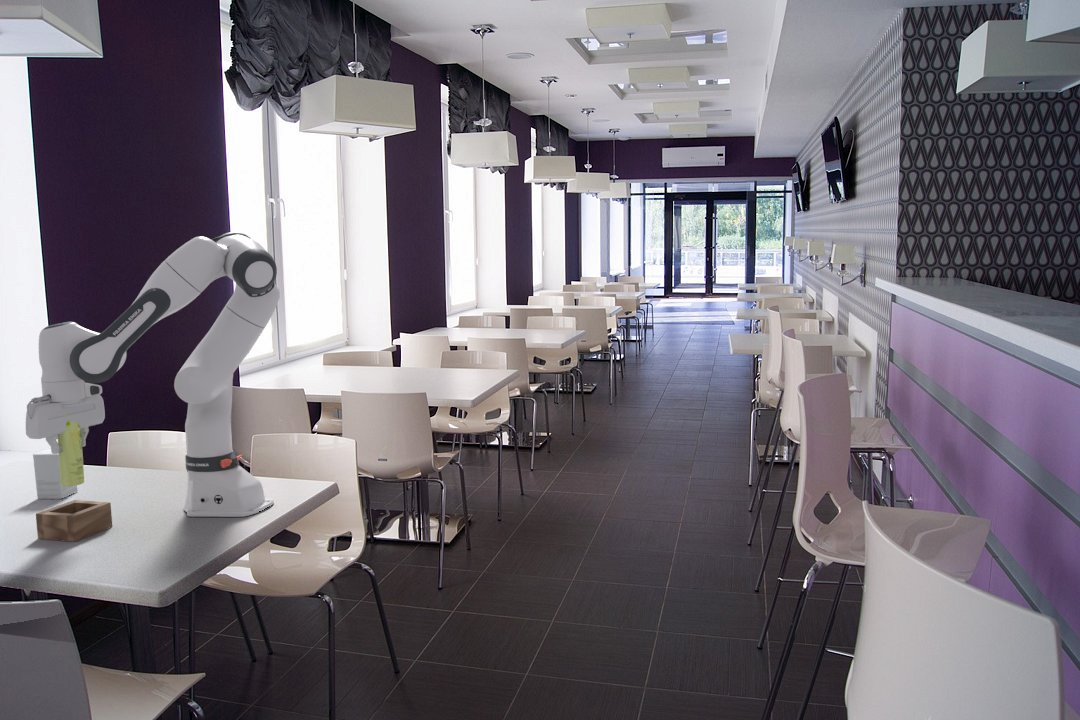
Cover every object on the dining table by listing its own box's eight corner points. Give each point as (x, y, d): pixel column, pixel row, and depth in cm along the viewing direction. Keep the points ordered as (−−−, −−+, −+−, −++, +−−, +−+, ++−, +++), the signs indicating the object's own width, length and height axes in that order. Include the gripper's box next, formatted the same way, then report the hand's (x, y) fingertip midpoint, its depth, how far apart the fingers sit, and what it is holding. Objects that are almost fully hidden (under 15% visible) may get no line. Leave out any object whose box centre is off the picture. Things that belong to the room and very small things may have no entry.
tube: (85, 485, 203) (80, 403, 201) (60, 488, 201) (55, 405, 199) (84, 480, 208) (79, 400, 206) (60, 483, 206) (54, 401, 204)
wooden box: (112, 526, 210) (110, 502, 210) (75, 541, 199) (72, 516, 199) (76, 523, 213) (74, 499, 213) (37, 538, 202) (35, 513, 201)
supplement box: (78, 492, 243) (74, 447, 241) (61, 499, 235) (57, 454, 234) (53, 491, 244) (50, 447, 242) (36, 499, 236) (32, 453, 235)
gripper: (38, 399, 192) (43, 460, 193) (107, 385, 211) (111, 441, 213) (15, 398, 193) (21, 459, 195) (86, 385, 213) (90, 440, 214)
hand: (69, 449), depth 204 cm, fingers closed on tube, 6 cm apart
